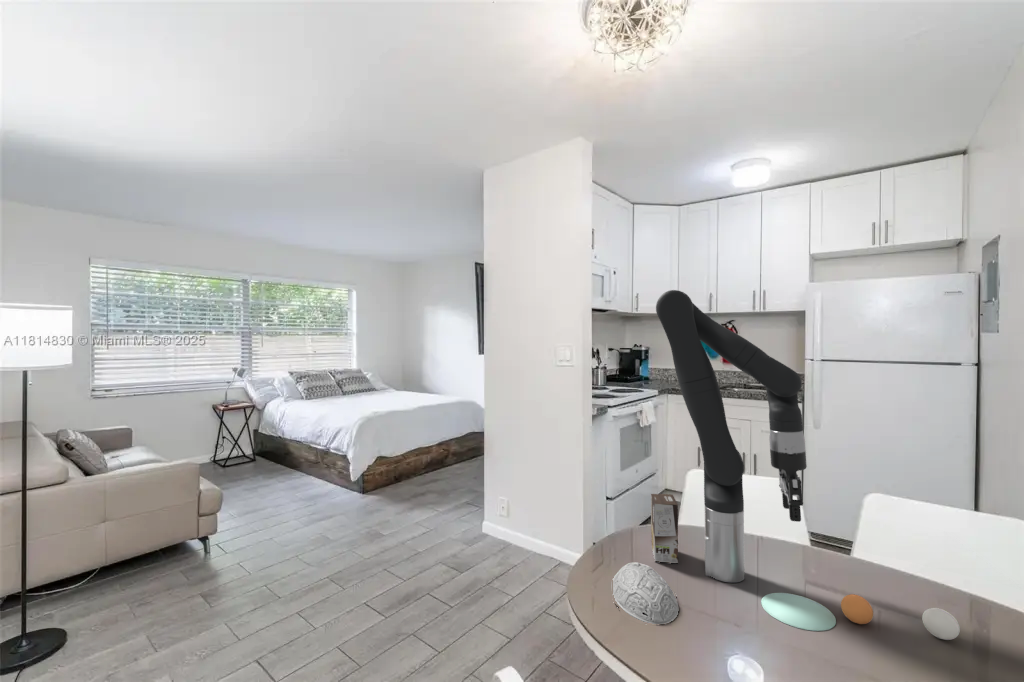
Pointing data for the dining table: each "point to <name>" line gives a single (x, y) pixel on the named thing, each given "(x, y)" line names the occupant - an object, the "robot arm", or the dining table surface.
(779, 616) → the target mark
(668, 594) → the grey oval dome
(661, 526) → the coffee box
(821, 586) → the dining table surface
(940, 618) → the cue ball
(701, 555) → the dining table surface
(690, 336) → the robot arm
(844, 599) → the orange ball
